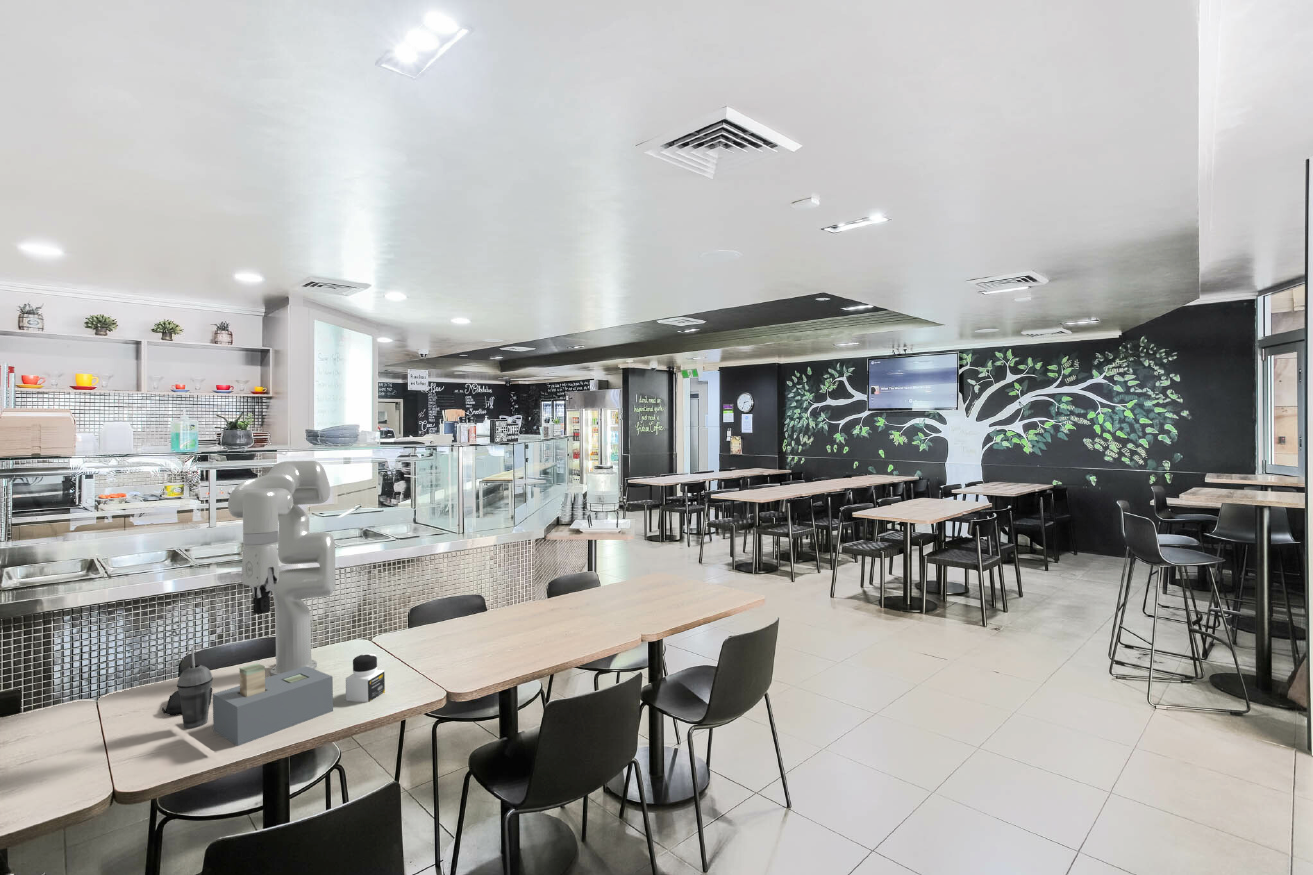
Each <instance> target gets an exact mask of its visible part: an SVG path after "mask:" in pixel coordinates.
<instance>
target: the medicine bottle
mask: <svg viewBox="0 0 1313 875" xmlns="http://www.w3.org/2000/svg"><path fill="white" fill-rule="evenodd" d="M385 676H386V675H385V669H378V657H377V655H376V654H375V653H374V654H373V653H363V654H359V655H357V656H356V657H354V658H353V659H352V674H350V675H349V676H347V677H346V678H345V701H348V702H360V703H370V702H372V701H373V700H375V699H376V698H378V697H380V696H381V695H382V694H385V693H386V687H385V686H386V685H385V682H386V681H385Z"/></svg>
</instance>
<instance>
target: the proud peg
mask: <svg viewBox="0 0 1313 875" xmlns="http://www.w3.org/2000/svg"><path fill="white" fill-rule="evenodd" d="M265 666H266V665H264V664H260V663H258V662H256V663H253V664H249V665H246V666H242V667H239V686H240V695H242V696H244V697H248V696H252V695H255V694H258V693H261V692H264V691H265V678H266V670H265V669H266V668H265Z"/></svg>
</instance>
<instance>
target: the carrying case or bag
mask: <svg viewBox="0 0 1313 875" xmlns="http://www.w3.org/2000/svg"><path fill="white" fill-rule="evenodd" d="M212 697H213V687H211V688H210V699H209V706H210V705H211V701H212ZM161 712H162V713H163V714H164V715H165V714H166V715H168V716H170V717H175V716H180V715H182V709H181V701H180V694H179V692H178V690H175V691H174V692H172V694H171V695H169V698H168V700H167V703H166V706H165V707H161Z"/></svg>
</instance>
